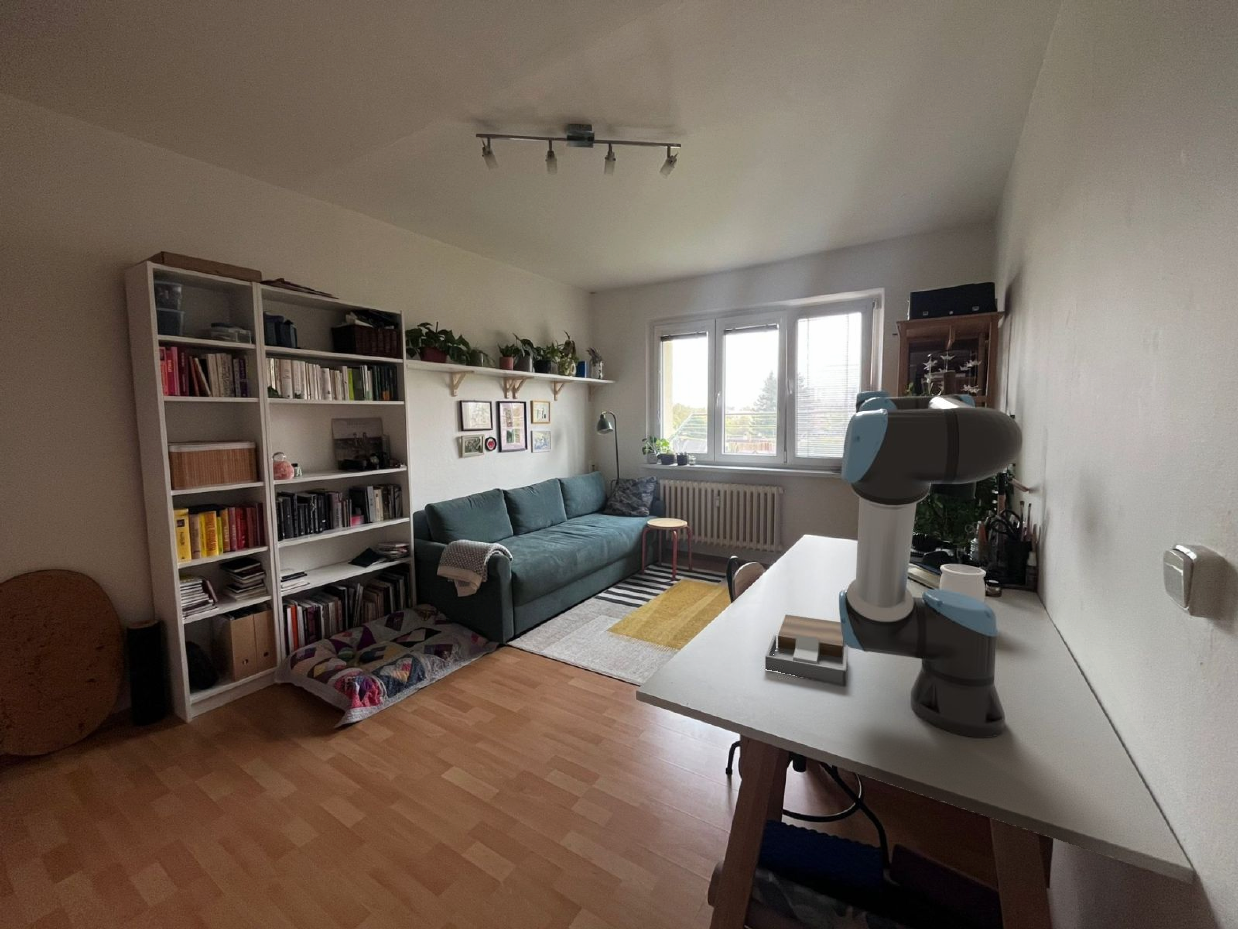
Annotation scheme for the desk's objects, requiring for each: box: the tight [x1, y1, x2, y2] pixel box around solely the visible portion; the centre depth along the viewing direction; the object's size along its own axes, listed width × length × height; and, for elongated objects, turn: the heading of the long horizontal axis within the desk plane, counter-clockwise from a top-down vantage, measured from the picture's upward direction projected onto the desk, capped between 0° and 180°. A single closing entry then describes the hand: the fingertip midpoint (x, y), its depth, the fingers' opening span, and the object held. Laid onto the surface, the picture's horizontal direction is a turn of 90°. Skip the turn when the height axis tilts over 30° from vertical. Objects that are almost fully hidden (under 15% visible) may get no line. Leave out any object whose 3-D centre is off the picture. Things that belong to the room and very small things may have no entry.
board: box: [777, 614, 845, 658], centre depth 128 cm, size 15×15×4 cm
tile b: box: [795, 634, 820, 659], centre depth 118 cm, size 5×5×4 cm
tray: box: [764, 634, 848, 687], centre depth 115 cm, size 12×17×4 cm
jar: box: [939, 563, 987, 603], centre depth 138 cm, size 11×10×15 cm
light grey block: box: [793, 648, 818, 664], centre depth 113 cm, size 5×5×4 cm
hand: (870, 546), depth 124 cm, fingers closed
